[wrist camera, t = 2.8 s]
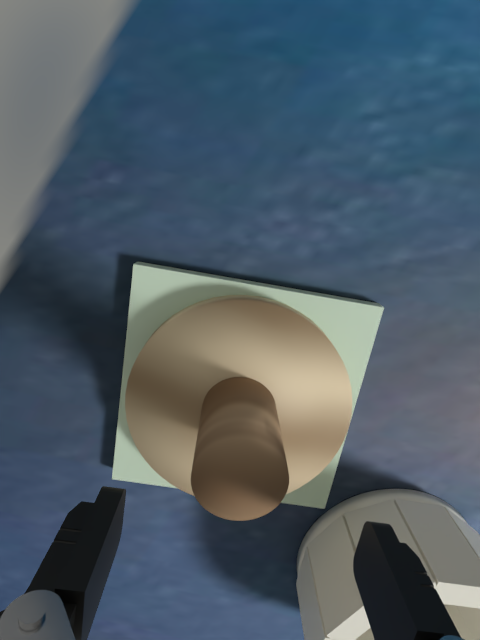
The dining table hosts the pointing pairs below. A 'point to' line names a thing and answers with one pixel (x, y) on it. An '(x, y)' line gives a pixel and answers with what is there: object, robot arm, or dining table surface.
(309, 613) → the bowl
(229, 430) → the lid
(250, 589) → the dining table surface
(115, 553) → the robot arm
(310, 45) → the dining table surface
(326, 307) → the mat
